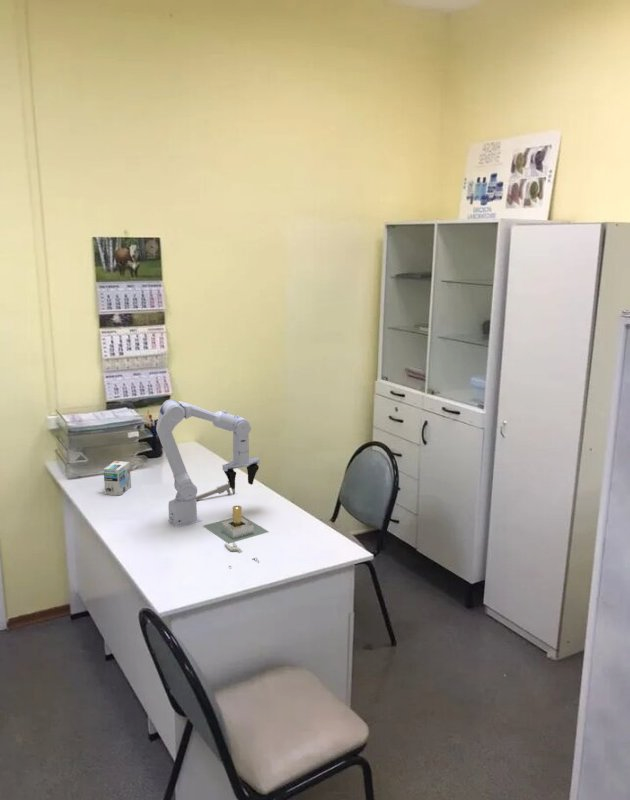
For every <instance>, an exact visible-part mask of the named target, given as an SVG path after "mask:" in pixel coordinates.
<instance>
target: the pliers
mask: <svg viewBox="0 0 630 800" xmlns="http://www.w3.org/2000/svg"><path fill="white" fill-rule="evenodd" d="M224 547H225V549H226V550H227V551H230V552H236V553H239V554H242V553H243V550H242V549H241V548H240V547H238V545H237V544H236V542H233V543H232V546H231V544H230V545H229V544H228V543H224ZM253 559H256V561H259V559H258V557H254V558H252V560H253ZM256 561H255V562H256ZM228 566H229V567H232V565H228ZM229 567H228V568H229Z"/></svg>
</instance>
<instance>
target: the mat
mask: <svg viewBox="0 0 630 800" xmlns="http://www.w3.org/2000/svg"><path fill="white" fill-rule="evenodd" d="M242 518H243V519H245V520H247V521H248V522H250V523H252V524H253V529H254V533H253V534H250V535H246V536H243V537H239V538H236V539H232V538H231V537H229V536H228V535H226V534H225V533H223V532H222V531H221V523H222V522H225V521H229V520H233V517H230V518H227V519H226V518H225V519H223V520H220V521H216V522H212V523H208V524H205V525H202V527H203V528H204V529H206V530H208V531H209V532H210V533H212V534H214V535H215V536H217V538H219V539H221V540H222V541H223V542H225V543H226V544H228V545H229V544H231V543H232V544H233V542H235V543H236V542H239V541H242V540H245V539H249V538H253V537H257V536H260V535H263V534H268V533H269V531H268V530H267V529H265V528H263V527H262V526H261V525H259V524H257V523H255V522H254V521H252V520H250V519H249V518H247V517H246V516H244V515H242Z"/></svg>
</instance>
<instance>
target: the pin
mask: <svg viewBox="0 0 630 800" xmlns="http://www.w3.org/2000/svg"><path fill="white" fill-rule="evenodd" d="M242 513H243V511H242V506H241V505H233V506H232V518H233V526H234V527H238V526H242V516H243V514H242Z"/></svg>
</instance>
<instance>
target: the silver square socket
mask: <svg viewBox="0 0 630 800" xmlns="http://www.w3.org/2000/svg"><path fill="white" fill-rule="evenodd" d="M221 531H222V532H223V533H225V534H226V535H228V536H229V537H231V538H232V539H236V538H239V537H243V536H246V535H250V534H253V533H254V529H253V524H252V523H250V522H248V521H247V520H245V519H243V518H242V526H238V527H234V526H233V520H229V521H225V522H222V523H221Z"/></svg>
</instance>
